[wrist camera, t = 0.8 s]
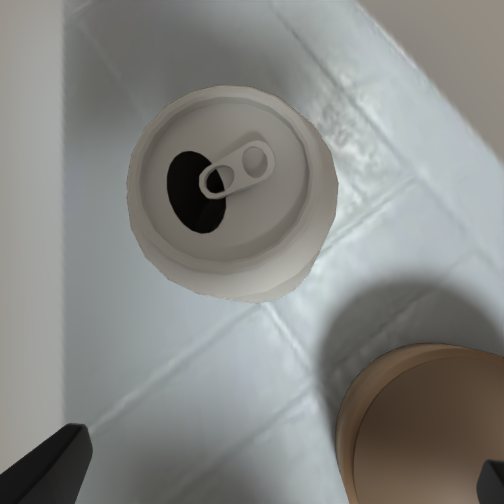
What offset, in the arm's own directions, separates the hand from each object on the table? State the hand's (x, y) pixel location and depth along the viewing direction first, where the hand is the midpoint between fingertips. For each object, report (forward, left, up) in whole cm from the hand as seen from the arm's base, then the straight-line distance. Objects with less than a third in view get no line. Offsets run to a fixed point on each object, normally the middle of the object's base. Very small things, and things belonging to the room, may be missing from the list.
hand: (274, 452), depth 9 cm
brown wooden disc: (-2, -9, -14) cm, 17 cm away
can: (+7, +3, -14) cm, 16 cm away
